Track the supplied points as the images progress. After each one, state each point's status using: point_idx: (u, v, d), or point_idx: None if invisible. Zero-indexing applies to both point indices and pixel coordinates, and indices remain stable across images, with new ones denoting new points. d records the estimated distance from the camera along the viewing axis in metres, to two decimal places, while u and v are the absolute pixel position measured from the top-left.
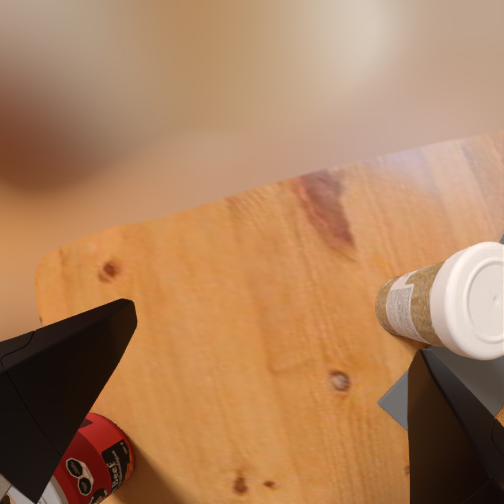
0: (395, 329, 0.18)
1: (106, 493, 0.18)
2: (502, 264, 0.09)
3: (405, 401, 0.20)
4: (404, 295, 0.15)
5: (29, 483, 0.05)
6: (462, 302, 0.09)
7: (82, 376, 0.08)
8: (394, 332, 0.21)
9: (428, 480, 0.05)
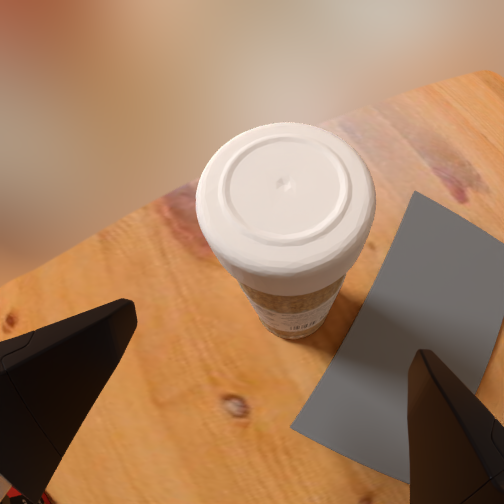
0: (266, 323, 0.16)
1: None
2: (286, 140, 0.08)
3: (327, 419, 0.16)
4: None
5: (29, 483, 0.05)
6: (217, 198, 0.08)
7: (82, 376, 0.08)
8: (286, 335, 0.18)
9: (428, 480, 0.05)
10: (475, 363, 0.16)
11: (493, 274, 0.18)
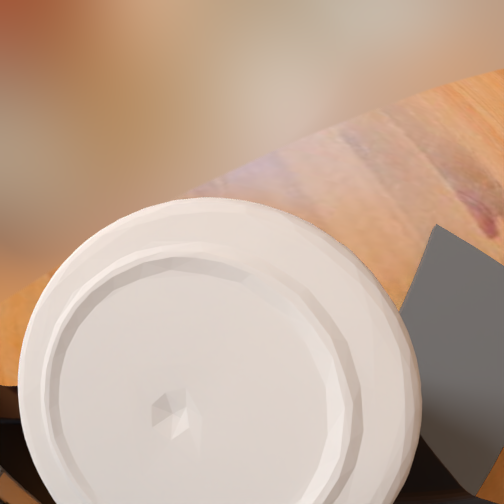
0: None
1: None
2: (191, 266, 0.03)
3: None
4: None
5: None
6: (40, 414, 0.03)
7: None
8: None
9: None
10: (493, 440, 0.11)
11: None
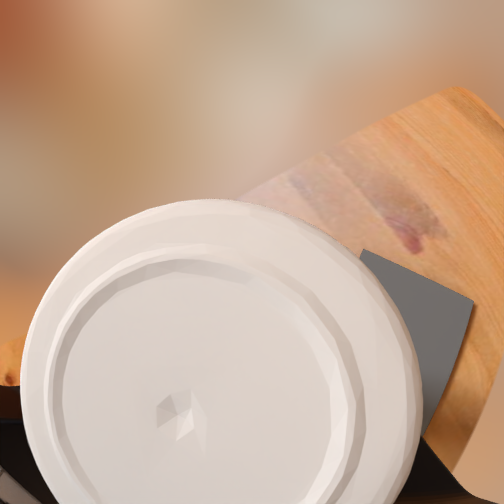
0: None
1: None
2: (195, 268, 0.03)
3: None
4: None
5: None
6: (44, 416, 0.03)
7: None
8: None
9: None
10: None
11: (444, 326, 0.20)
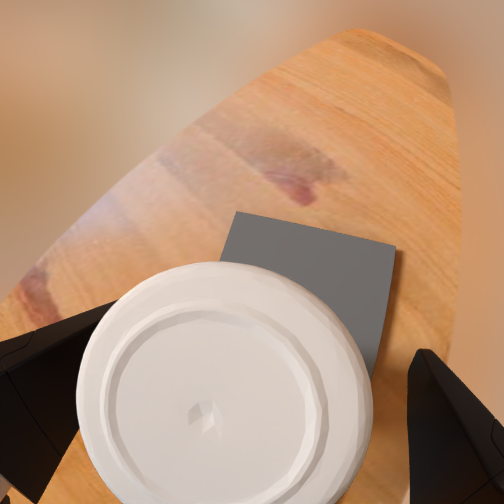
0: None
1: None
2: (214, 316, 0.04)
3: None
4: None
5: (29, 483, 0.05)
6: (99, 420, 0.04)
7: None
8: None
9: (428, 480, 0.05)
10: None
11: (357, 284, 0.17)
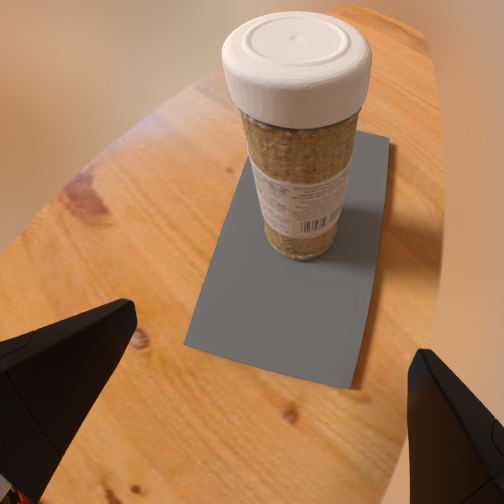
0: (276, 228, 0.16)
1: None
2: (296, 18, 0.08)
3: (215, 328, 0.19)
4: None
5: (29, 483, 0.05)
6: (241, 46, 0.08)
7: (82, 376, 0.08)
8: (295, 254, 0.19)
9: (428, 480, 0.05)
10: (363, 244, 0.19)
11: (362, 160, 0.21)
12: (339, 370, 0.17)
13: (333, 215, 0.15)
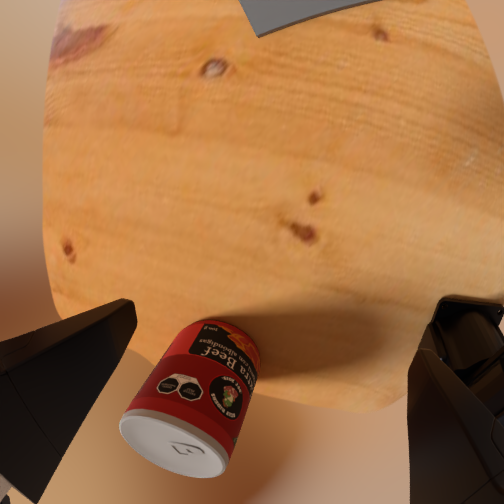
0: None
1: (231, 379, 0.21)
2: None
3: (270, 7, 0.15)
4: None
5: (29, 483, 0.05)
6: None
7: (82, 376, 0.08)
8: None
9: (428, 480, 0.05)
10: None
11: None
12: None
13: None
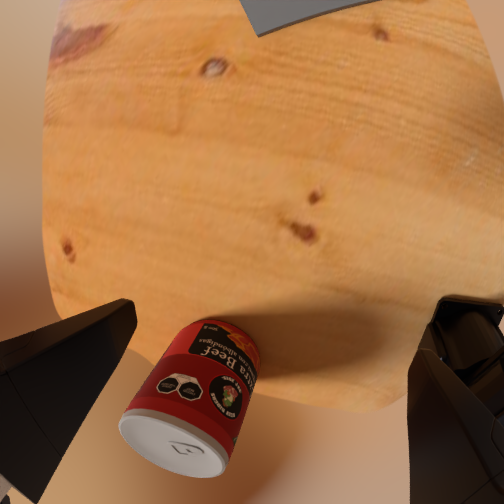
0: None
1: (231, 378, 0.21)
2: None
3: (270, 6, 0.15)
4: None
5: (29, 483, 0.05)
6: None
7: (82, 376, 0.08)
8: None
9: (428, 480, 0.05)
10: None
11: None
12: None
13: None
